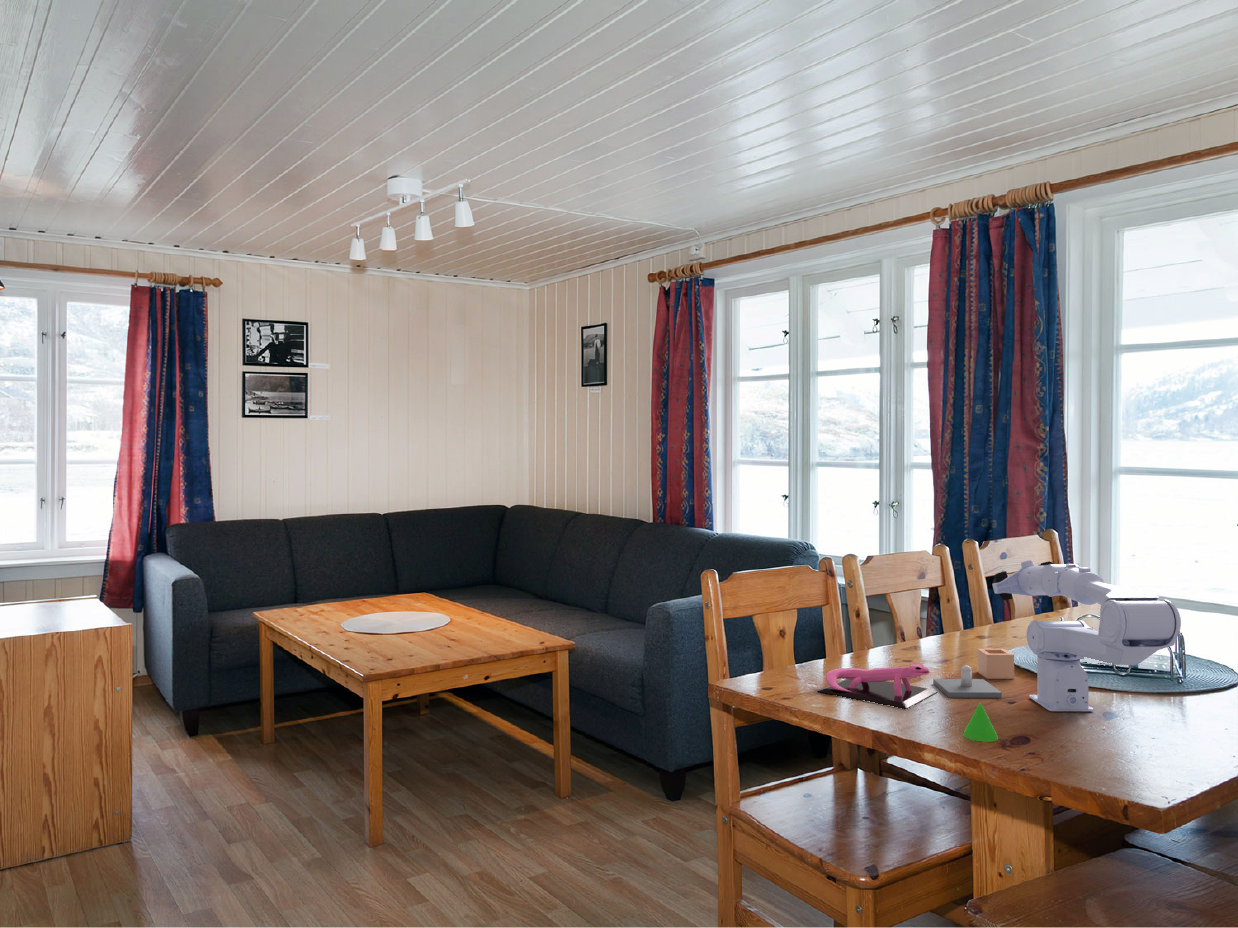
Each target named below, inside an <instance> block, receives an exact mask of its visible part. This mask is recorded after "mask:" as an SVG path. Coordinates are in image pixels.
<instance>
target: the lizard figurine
mask: <svg viewBox="0 0 1238 928" xmlns="http://www.w3.org/2000/svg"><path fill="white" fill-rule="evenodd" d="M929 674H931V671H930V670H929V668H928V667H927V666H924V664H919V663H918V664H917V663H913V664H911V665H907V666H894V667H891V666H890V667H877V668H876V667H875V668H871V669H865V668H864V669H863V668H857V667H853V668H852V667H851V668H850V667H845V668H841V667H839V668H835V669H831V670H830V671H828V672H827V673H826V674H825V682H826V684H827V685H828V686H826V687H824V688H821V689H818V690H817V692H818V694H824V695H828V696H832V695H837V696H836V697H838V696H842V697H841V698H843V697H846V698H845V699H848V698H851V699H850V700H853V699H856V700H855V701H858V700H865V701H870V702H875V703H878V704H877V705H879V704H883V705H882V706H884V705H890V706H894V707H893V708H895V707H898V708H897V709H900V708H902V709H901V710H905V709H907V710H909V709H911V708H912V707H911V706H913V705H914V706H916V705H918V704H920V703H921V702H924V701H926V700H927V699H929V698H931V697H933V696H934V695H937V694H938V691H937V690H935V689H931V688H929V687H928V688H927V687H920V686H916V685H911V683H910V681H909V679H908V678H911V679H914V678H917V677H922V676H925V675H929ZM839 679H843V680H839ZM837 680H839V681H838V682H837ZM902 682H903V683H902ZM923 700H924V701H923ZM890 706H889V707H890ZM914 706H913V707H914ZM910 707H911V708H910ZM908 708H909V709H908Z"/></svg>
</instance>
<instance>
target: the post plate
mask: <svg viewBox="0 0 1238 928" xmlns="http://www.w3.org/2000/svg"><path fill="white" fill-rule="evenodd" d="M932 681H933V685H934V686H935V687H936V688H938V689H939V690H940V691H941V692H942V693H943V694H945V696H947V697H948V698H949V699H950V698H953V699H954V698H958V699H959V698H964V699H965V698H976V699H977V698H978V699H979V698H984V699H985V698H987V699H989V698H990V699H993V698H999V699H1000V698H1001V699H1002V697H1003V696H1002V691H1000V690H999V689H997V688H996V687H995V686H994V685H992V684H991V683H990V682H988V681H986V680H985V679H984V678H973V671H972V667H971V666H969V665H967V664H965V665H962V667H961V668H960V678H933V679H932Z"/></svg>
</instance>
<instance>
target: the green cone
mask: <svg viewBox="0 0 1238 928" xmlns="http://www.w3.org/2000/svg"><path fill="white" fill-rule="evenodd" d="M963 732H964V734H963V733H962V737H963V736H964V737H963V738H966V739H968V738H970V739H969V740H971V739H972V740H971V741H975V740H976V741H977V742H985V743H988V742H989V743H990V742H995V741H998V740H999V735H998V734H997V732H996V730H995V728H994V726H993V724H992V721H991V720H990V717H989V716H988V714H987V711H986V710H985V708H984V706H983V705H982V702H981V701H979V703H978V705H977V707H976V709H975V710H974V712H973V714H972V716H971V718H970V719H969V721H968V723H967V725H966V726H965V729H964V731H963Z"/></svg>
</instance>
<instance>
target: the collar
mask: <svg viewBox="0 0 1238 928" xmlns="http://www.w3.org/2000/svg"><path fill="white" fill-rule="evenodd" d="M976 651H977V652H976V653H977V655H976V658H977V660H976V661H977V662H976V664H977V668H976V669H977V670H976V671H977V672H976V673H978V674H979V675H981V676H982V677H984V678H985V679H986V680H987V679H988V680H989V679H990V680H991V679H992V680H994V679H996V680H997V679H998V680H999V679H1002V680H1004V679H1007V680H1009V679H1010V680H1011V679H1013V680H1015V654H1013V653H1012V652H1010V651H1009V650H1007V649H1005V648H977V649H976Z"/></svg>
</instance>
